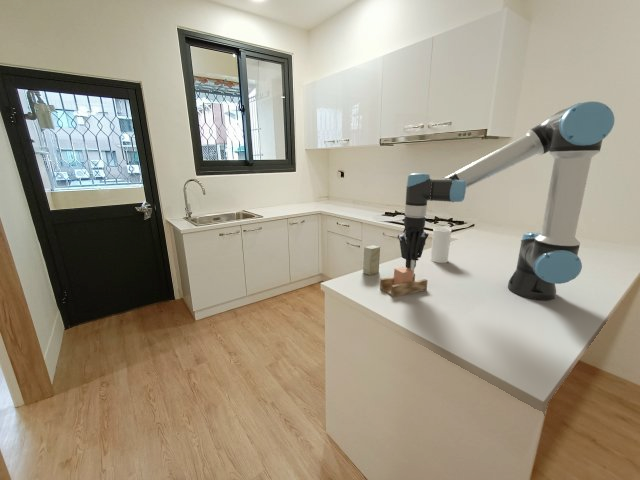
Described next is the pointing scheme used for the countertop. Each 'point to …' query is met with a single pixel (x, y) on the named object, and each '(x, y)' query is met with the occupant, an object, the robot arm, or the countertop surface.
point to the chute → (402, 286)
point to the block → (402, 275)
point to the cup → (440, 245)
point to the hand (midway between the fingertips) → (409, 275)
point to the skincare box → (371, 259)
